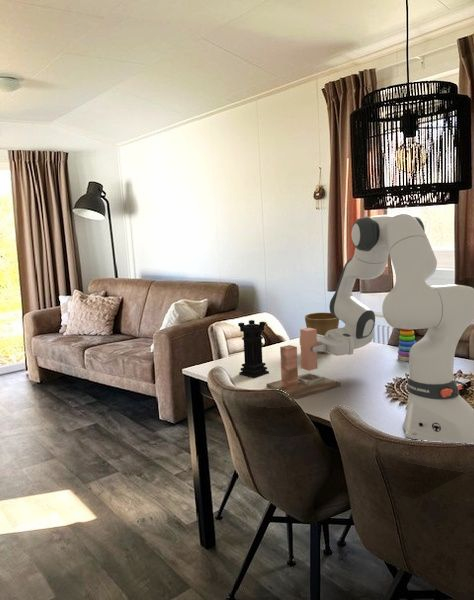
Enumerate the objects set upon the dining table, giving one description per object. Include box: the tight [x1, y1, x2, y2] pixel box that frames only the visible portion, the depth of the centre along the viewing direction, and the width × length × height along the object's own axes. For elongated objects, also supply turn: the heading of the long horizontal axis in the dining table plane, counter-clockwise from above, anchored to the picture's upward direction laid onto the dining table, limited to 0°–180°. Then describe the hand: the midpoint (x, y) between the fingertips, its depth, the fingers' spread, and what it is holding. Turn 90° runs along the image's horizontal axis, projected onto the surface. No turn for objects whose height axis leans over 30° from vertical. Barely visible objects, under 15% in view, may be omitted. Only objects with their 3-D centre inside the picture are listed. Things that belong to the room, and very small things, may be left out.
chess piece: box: [237, 319, 270, 379], centre depth 198 cm, size 8×8×20 cm
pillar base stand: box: [266, 344, 342, 400], centre depth 181 cm, size 16×20×15 cm
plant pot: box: [304, 312, 340, 355], centre depth 225 cm, size 15×15×16 cm
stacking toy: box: [396, 328, 417, 362], centre depth 207 cm, size 8×8×19 cm
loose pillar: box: [299, 327, 318, 372], centre depth 182 cm, size 4×4×14 cm
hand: (306, 347), depth 181 cm, fingers closed on loose pillar, 4 cm apart
